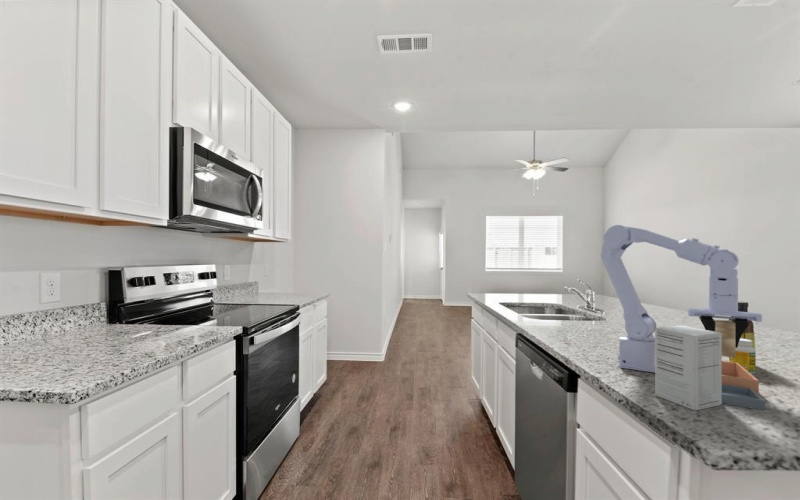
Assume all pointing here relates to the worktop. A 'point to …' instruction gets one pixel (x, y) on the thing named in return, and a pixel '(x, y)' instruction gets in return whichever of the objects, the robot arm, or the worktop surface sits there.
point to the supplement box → (688, 366)
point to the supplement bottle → (745, 355)
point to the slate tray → (742, 397)
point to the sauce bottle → (750, 329)
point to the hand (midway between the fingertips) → (723, 345)
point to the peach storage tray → (738, 376)
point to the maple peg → (726, 336)
